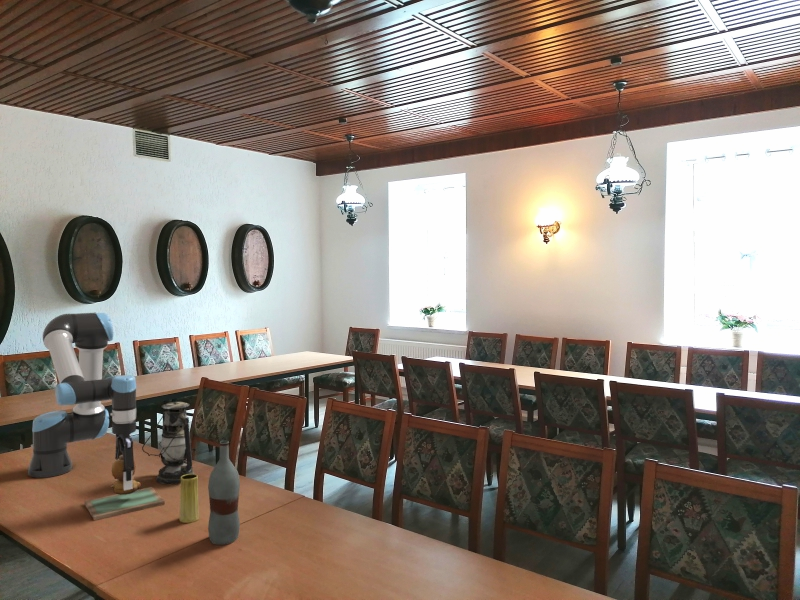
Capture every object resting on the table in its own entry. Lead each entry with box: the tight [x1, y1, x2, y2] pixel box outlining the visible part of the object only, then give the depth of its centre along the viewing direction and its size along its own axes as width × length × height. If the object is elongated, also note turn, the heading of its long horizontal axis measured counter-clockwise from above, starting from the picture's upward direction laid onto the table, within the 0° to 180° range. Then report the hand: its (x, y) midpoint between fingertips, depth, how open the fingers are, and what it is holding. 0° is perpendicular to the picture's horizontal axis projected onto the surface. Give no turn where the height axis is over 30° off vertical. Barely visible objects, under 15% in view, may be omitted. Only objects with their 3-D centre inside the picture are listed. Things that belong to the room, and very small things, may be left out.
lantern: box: [141, 401, 197, 485], centre depth 222 cm, size 19×19×30 cm
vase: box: [179, 473, 200, 524], centre depth 187 cm, size 6×6×14 cm
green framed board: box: [84, 486, 166, 521], centre depth 199 cm, size 16×22×1 cm
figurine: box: [110, 455, 142, 495], centre depth 197 cm, size 10×8×15 cm
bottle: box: [207, 440, 241, 546], centre depth 174 cm, size 9×9×30 cm
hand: (124, 485), depth 198 cm, fingers closed on figurine, 9 cm apart
